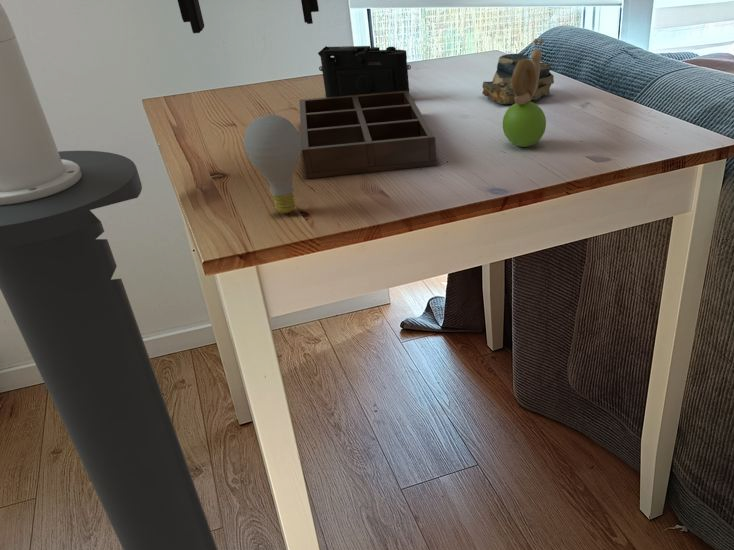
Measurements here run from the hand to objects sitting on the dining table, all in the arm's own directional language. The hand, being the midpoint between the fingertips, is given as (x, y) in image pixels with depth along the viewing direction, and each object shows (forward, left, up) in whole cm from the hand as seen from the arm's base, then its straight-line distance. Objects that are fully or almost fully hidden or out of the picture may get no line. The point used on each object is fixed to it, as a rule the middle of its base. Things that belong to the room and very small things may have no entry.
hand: (254, 26), depth 62 cm
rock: (+35, +36, -18) cm, 53 cm away
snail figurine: (+30, +14, -18) cm, 38 cm away
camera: (+13, +44, -18) cm, 49 cm away
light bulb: (0, 0, -18) cm, 18 cm away
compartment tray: (+10, +21, -18) cm, 29 cm away
